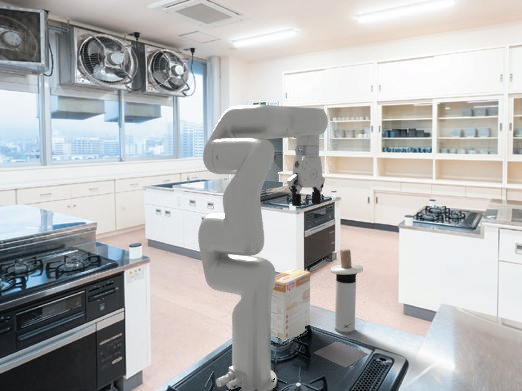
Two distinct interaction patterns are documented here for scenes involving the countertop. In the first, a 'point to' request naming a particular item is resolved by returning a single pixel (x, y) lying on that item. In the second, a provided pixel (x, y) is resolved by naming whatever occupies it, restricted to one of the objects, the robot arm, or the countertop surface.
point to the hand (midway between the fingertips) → (306, 205)
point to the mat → (341, 354)
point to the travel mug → (345, 303)
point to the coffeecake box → (290, 304)
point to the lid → (346, 264)
